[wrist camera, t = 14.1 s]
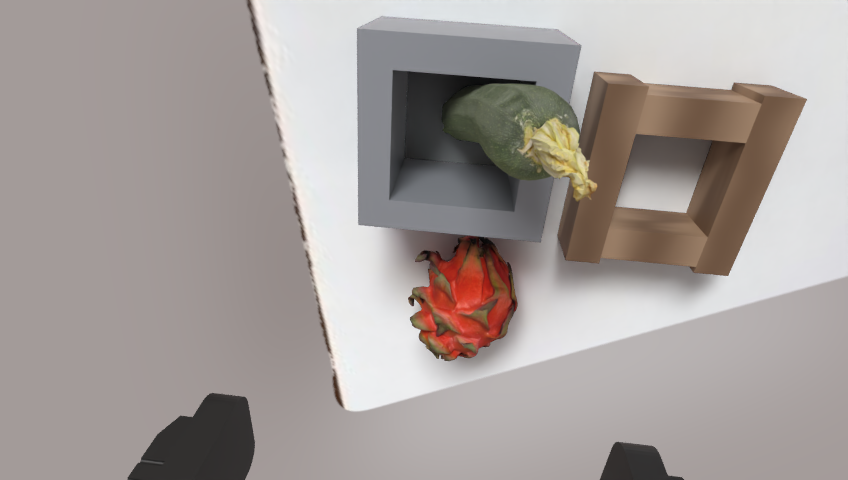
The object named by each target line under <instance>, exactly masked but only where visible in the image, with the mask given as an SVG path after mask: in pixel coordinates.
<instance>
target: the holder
mask: <svg viewBox="0 0 848 480" xmlns="http://www.w3.org/2000/svg"><path fill="white" fill-rule="evenodd" d="M580 50H581V45H580V44H578V43H577V42H575V41H574V40H573V39H571V38H570V37H568V36H567V35H565V34H564V33H562V32H561V31H559V30H557V29H544V28H530V27H517V26H503V25H490V24H477V23H463V22H450V21H436V20H423V19H409V18H396V17H383V16H381V17H379V18H377V19H375V20H373V21H371V22H369V23H367V24H365V25H363V26H361V27H359V28H357V94H358V225H365V226H375V227H386V228H396V229H407V230H417V231H428V232H438V233H449V234H459V235H470V236H480V237H491V238H501V239H512V240H522V241H533V242H541V238H542V233H543V228H544V223H545V218H546V213H547V209H548V204H549V199H550V194H551V189H552V185H553V180H554V177H553V176H551V177H548V178H544V179H539V180H530V181H527V180H520V179H517V178H514V177H512V176H510V175H508V174H507V173H505V172H504V171H503V170H501V169H500V168H499V167H498V166H489V165H478V164H466V163H455V162H444V161H432V160H421V159H410V158H405V135H406V111H407V88H408V71H412V72H424V73H437V74H449V75H462V76H474V77H487V78H499V79H512V80H520V83H519V84H526V85H537V86H542V87H545V88H548V89H550V90H552V91H554V92H555V93H557V94H558V95H559V96H560V97H562V98H563V99H564V100H565V101H567V102H568V104H569V103H570V98H571V93H572V88H573V83H574V79H575V74H576V69H577V64H578V59H579V54H580Z"/></svg>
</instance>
